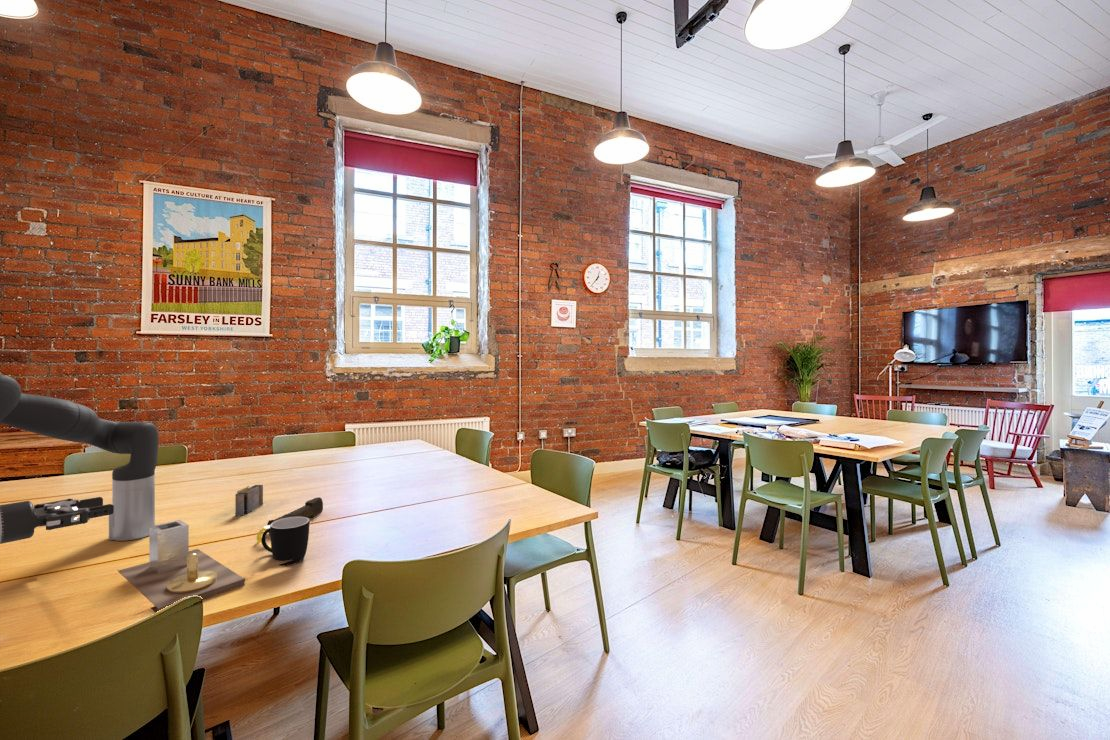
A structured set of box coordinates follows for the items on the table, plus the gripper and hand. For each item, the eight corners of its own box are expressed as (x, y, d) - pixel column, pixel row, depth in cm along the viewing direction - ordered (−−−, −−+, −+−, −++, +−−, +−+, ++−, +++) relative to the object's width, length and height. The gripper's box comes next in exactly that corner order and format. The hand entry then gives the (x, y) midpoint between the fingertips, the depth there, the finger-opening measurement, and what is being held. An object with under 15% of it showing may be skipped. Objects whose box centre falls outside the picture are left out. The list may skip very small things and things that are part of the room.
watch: (254, 549, 130) (254, 527, 129) (261, 545, 132) (261, 524, 132) (275, 550, 129) (275, 528, 129) (281, 546, 132) (281, 525, 132)
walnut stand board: (117, 576, 112) (117, 533, 112) (197, 554, 125) (197, 515, 125) (158, 615, 96) (157, 564, 96) (244, 585, 110) (244, 540, 109)
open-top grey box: (157, 573, 111) (157, 532, 111) (149, 567, 114) (149, 526, 114) (188, 564, 116) (188, 524, 116) (179, 558, 119) (179, 519, 119)
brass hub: (158, 596, 101) (158, 564, 101) (177, 577, 109) (177, 547, 109) (208, 590, 104) (208, 559, 104) (222, 572, 112) (222, 543, 112)
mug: (316, 553, 127) (316, 516, 127) (296, 568, 118) (296, 529, 118) (273, 552, 128) (273, 515, 128) (250, 566, 119) (250, 527, 119)
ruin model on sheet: (245, 517, 156) (245, 487, 155) (235, 517, 156) (235, 487, 155) (264, 506, 167) (264, 478, 167) (255, 506, 167) (255, 478, 167)
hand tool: (279, 536, 139) (280, 518, 139) (266, 535, 140) (266, 516, 140) (330, 512, 162) (331, 496, 161) (318, 511, 163) (319, 495, 162)
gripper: (1, 513, 88) (117, 494, 101) (-10, 499, 96) (99, 483, 109) (2, 553, 88) (117, 528, 102) (-9, 535, 96) (99, 515, 110)
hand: (107, 505), depth 106 cm, fingers open, 8 cm apart
